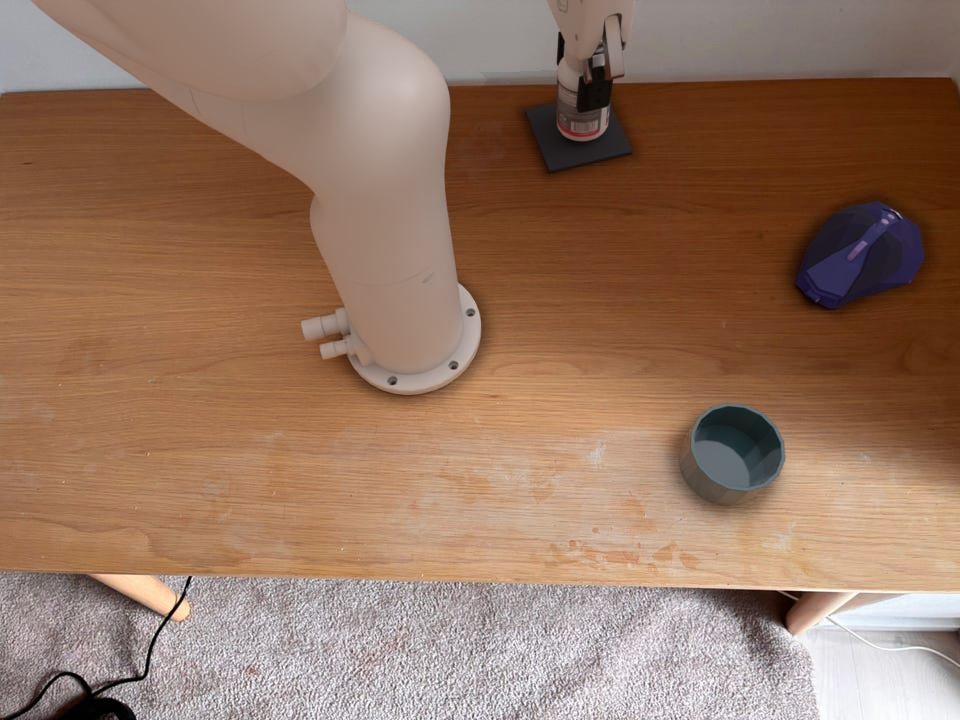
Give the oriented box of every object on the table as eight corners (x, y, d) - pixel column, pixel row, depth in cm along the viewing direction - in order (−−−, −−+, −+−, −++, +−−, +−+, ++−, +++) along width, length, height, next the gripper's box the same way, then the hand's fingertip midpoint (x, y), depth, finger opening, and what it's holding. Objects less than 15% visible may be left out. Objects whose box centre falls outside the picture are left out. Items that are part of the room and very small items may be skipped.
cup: (698, 515, 55) (712, 501, 51) (665, 435, 58) (676, 415, 54) (780, 493, 55) (801, 476, 51) (744, 414, 58) (760, 393, 54)
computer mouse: (947, 244, 65) (972, 217, 61) (853, 340, 61) (874, 318, 57) (861, 188, 68) (880, 160, 64) (767, 277, 64) (782, 252, 60)
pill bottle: (575, 99, 74) (578, 16, 65) (618, 118, 72) (627, 36, 63) (546, 130, 72) (545, 50, 63) (589, 150, 70) (594, 71, 62)
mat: (549, 173, 71) (549, 170, 70) (524, 112, 75) (524, 109, 74) (632, 153, 71) (632, 151, 71) (603, 93, 75) (604, 91, 75)
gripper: (522, -159, 55) (521, 37, 71) (591, -27, 47) (572, 158, 64) (611, -177, 55) (590, 21, 72) (694, -49, 48) (649, 140, 64)
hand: (582, 84), depth 67 cm, fingers closed on pill bottle, 5 cm apart
